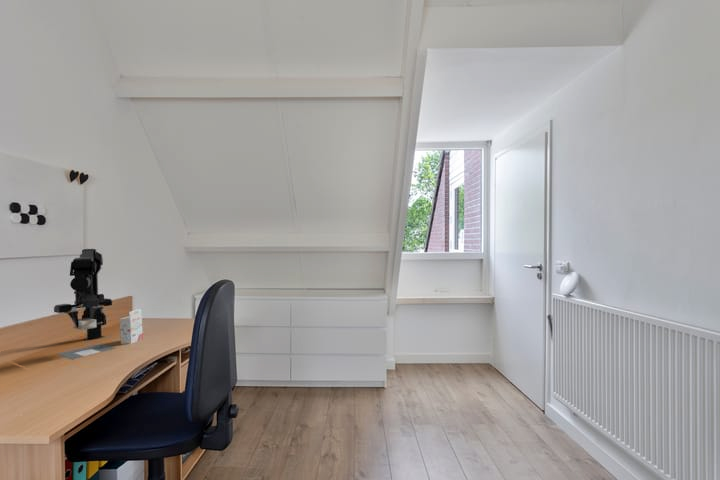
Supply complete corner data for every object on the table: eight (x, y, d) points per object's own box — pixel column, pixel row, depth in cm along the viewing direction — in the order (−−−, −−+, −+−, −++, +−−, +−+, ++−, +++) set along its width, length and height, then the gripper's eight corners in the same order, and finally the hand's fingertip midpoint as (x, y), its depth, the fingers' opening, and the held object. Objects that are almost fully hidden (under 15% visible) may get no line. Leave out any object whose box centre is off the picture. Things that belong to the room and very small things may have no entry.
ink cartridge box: (132, 339, 169) (131, 308, 169) (143, 339, 169) (142, 308, 169) (120, 345, 160) (119, 312, 160) (131, 344, 160) (130, 311, 160)
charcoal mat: (55, 355, 148) (55, 353, 148) (100, 344, 161) (100, 343, 161) (72, 360, 140) (72, 359, 140) (117, 349, 154) (117, 347, 154)
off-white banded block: (82, 330, 145) (82, 321, 145) (73, 328, 149) (73, 320, 149) (96, 327, 150) (96, 319, 150) (87, 325, 154) (87, 317, 154)
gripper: (64, 292, 137) (66, 333, 137) (118, 286, 153) (119, 323, 153) (52, 291, 143) (54, 330, 143) (105, 285, 159) (106, 320, 159)
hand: (85, 326), depth 149 cm, fingers closed on off-white banded block, 5 cm apart
